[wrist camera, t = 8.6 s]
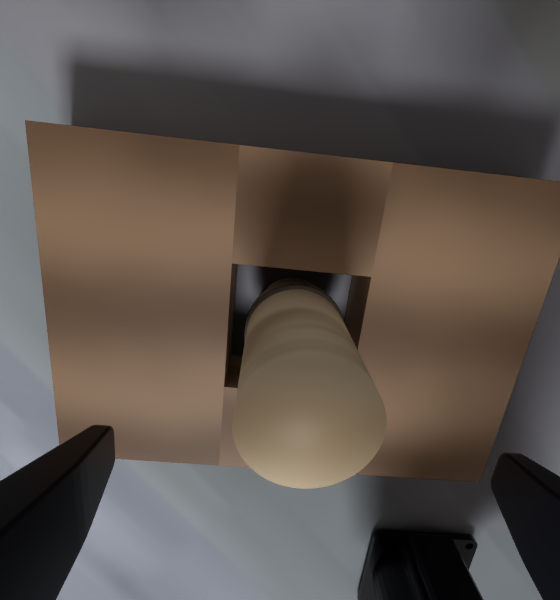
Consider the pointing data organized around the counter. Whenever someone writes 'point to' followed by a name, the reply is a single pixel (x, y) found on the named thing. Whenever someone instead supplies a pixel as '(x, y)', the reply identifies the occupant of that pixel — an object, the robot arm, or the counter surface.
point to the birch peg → (304, 391)
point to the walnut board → (289, 255)
